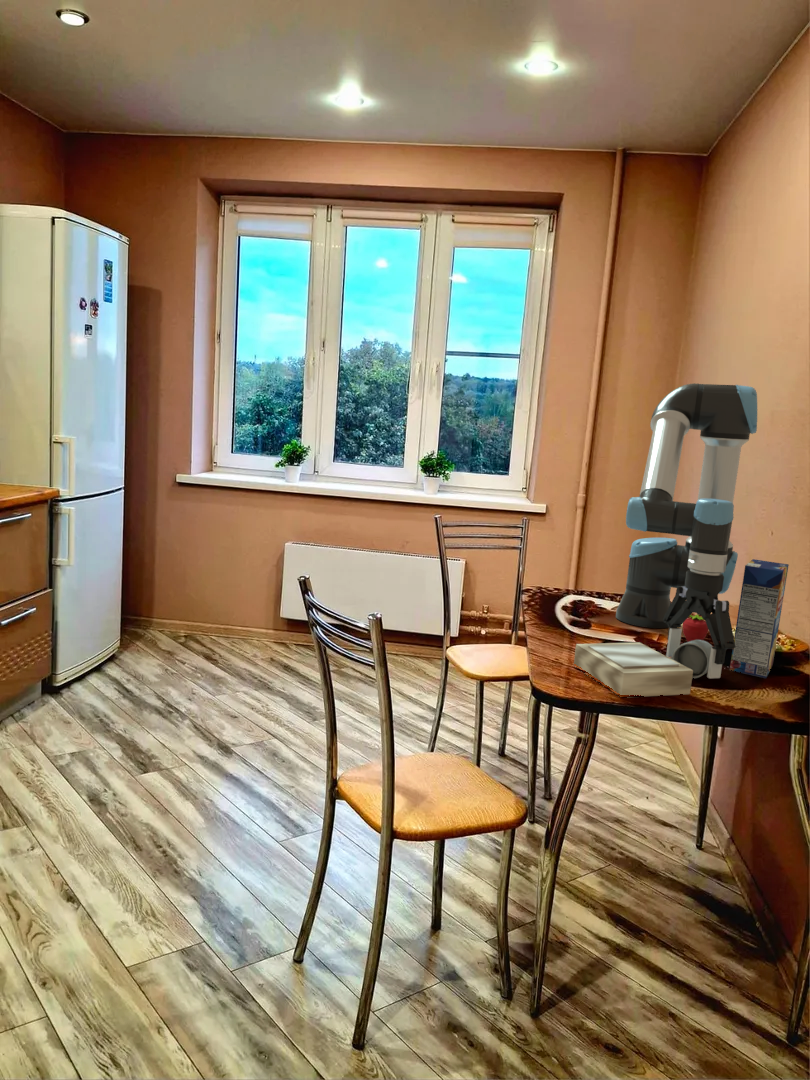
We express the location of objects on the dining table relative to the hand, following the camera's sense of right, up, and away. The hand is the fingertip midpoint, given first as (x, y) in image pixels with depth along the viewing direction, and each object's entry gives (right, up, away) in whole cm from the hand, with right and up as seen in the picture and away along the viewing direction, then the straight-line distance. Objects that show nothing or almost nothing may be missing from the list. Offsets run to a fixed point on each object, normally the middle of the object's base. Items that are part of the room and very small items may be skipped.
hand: (692, 666), depth 157 cm
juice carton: (+17, -2, +7) cm, 18 cm away
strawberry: (+8, +1, +19) cm, 21 cm away
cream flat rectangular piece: (-16, -2, -7) cm, 17 cm away
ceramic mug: (-1, -2, +1) cm, 2 cm away
